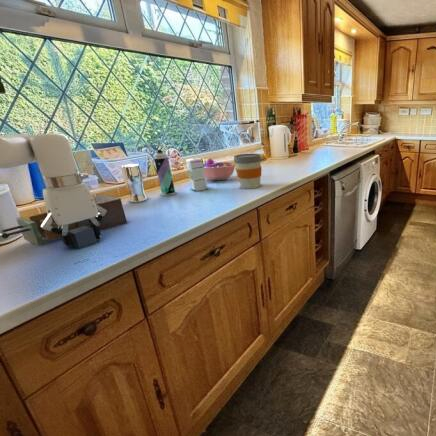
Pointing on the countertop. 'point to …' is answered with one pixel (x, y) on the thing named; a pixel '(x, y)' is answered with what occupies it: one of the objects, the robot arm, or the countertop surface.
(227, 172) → the cell model
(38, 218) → the drawer
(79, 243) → the block
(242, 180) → the reusable coffee cup
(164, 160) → the spray can
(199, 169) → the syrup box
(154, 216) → the countertop surface
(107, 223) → the cabinet
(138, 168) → the beer glass
